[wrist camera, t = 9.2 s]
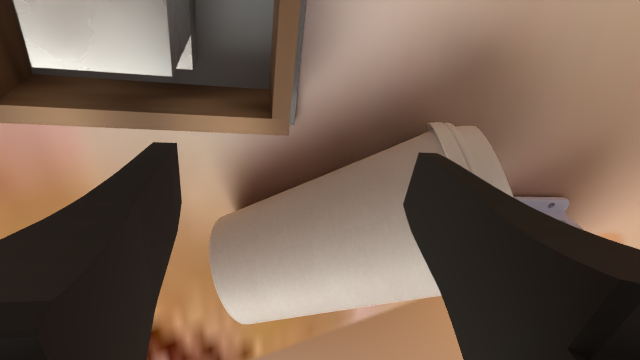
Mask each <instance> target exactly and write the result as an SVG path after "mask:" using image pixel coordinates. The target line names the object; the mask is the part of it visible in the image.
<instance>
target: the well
mask: <svg viewBox="0 0 640 360" xmlns="http://www.w3.org/2000/svg"><path fill="white" fill-rule="evenodd" d="M300 4H301V0H274V9H273V27H272V44H271V61H270V79H269V89H254V88H239V87H224V86H208V85H193V84H178V83H162V82H147V81H132V80H116V79H101V78H86V77H71V76H55V75H40V74H32V71H31V67H30V63H29V60H28V56H27V53H26V49H25V46H24V42H23V38H22V35H21V31H20V28H19V24H18V21H17V17H16V13H15V10H14V6H13V3H12V0H0V123H14V124H37V125H60V126H83V127H106V128H128V129H151V130H174V131H197V132H220V133H243V134H266V135H288V134H289V123H290V112H291V101H292V90H293V80H294V69H295V58H296V47H297V36H298V25H299V15H300Z"/></svg>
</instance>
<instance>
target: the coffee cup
mask: <svg viewBox="0 0 640 360" xmlns="http://www.w3.org/2000/svg"><path fill="white" fill-rule="evenodd" d="M419 152H422V153H438V154H440V155H442V156H444V157H446V158H448V159H450V160H452V161H453V162H455V163H457V164H458V165H460V166H462V167H463V168H465V169H467V170H468V171H470V172H471V173H473V174H475V175H476V176H478V177H480V178H481V179H483V180H484V181H486V182H488V183H489V184H491V185H493V186H494V187H496V188H498V189H499V190H501V191H503V192H505V193H506V194H508V195H510V196H512V197H513V194H512V191H511V188H510V186H509V183H508V180H507V178H506V175H505V173H504V171H503V168H502V166H501V164H500V162H499V160H498V158H497V156H496V154H495V152H494V150H493V148H492V146H491V145H490V143H489V141H488V140H487V138H486V137H485V135H484V134H483V133H482V132H481V131H480V130H479V129H478V128H477V127H476V126H456V127H455V126H454V125H453V124H451V123H448V122H445V123H442V122H432V123H427V132H426V133H424V134H421V135H419V136H417V137H414V138H412V139H410V140H407V141H405V142H402V143H400V144H398V145H395V146H393V147H391V148H388V149H386V150H383V151H381V152H379V153H376V154H374V155H371V156H369V157H367V158H364V159H362V160H359V161H357V162H354V163H352V164H350V165H347V166H345V167H342V168H340V169H337V170H335V171H333V172H330V173H328V174H325V175H323V176H320V177H318V178H316V179H313V180H311V181H308V182H306V183H303V184H301V185H298V186H296V187H294V188H291V189H289V190H286V191H284V192H281V193H279V194H276V195H274V196H272V197H269V198H267V199H264V200H262V201H259V202H257V203H254V204H252V205H249V206H247V207H245V208H242V209H240V210H237V211H235V212H232V213H230V214H227V215H225V216H223V217H221V218H219V219H218V220H217V221H216V223H215V224H214V226H213V229H212V232H211V236H210V244H209V258H210V267H211V273H212V277H213V281H214V284H215V288H216V290H217V293H218V296H219V298H220V300H221V302H222V304H223V306H224V307H225V309H226V310H227V312H228V313H229V314H230V316H231V317H232V318H233V319H235V320H236V321H237V322H239V323H241V324H253V323H260V322H266V321H273V320H280V319H286V318H293V317H300V316H306V315H313V314H319V313H326V312H333V311H339V310H346V309H353V308H359V307H366V306H373V305H380V304H386V303H393V302H400V301H407V300H414V299H421V298H428V297H434V296H442V295H441V293H440V291H439V288H438V286H437V284H436V282H435V280H434V278H433V276H432V274H431V272H430V270H429V268H428V266H427V264H426V262H425V260H424V258H423V256H422V254H421V251H420V249H419V247H418V245H417V243H416V241H415V239H414V237H413V234H412V232H411V230H410V227H409V224H408V221H407V217H406V214H405V210H404V207H403V203H404V199H405V196H406V193H407V189H408V186H409V183H410V180H411V176H412V173H413V170H414V166H415V163H416V160H417V156H418V153H419Z"/></svg>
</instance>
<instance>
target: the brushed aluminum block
mask: <svg viewBox="0 0 640 360" xmlns="http://www.w3.org/2000/svg"><path fill="white" fill-rule="evenodd" d="M13 1H14V4H15V8H16V11H17V15H18V18H19V22H20V26H21V29H22V33H23V36H24V40H25V44H26V47H27V51H28V54H29V58H30V62H31V65H32V67H39V68H54V69H69V70H83V71H98V72H112V73H127V74H142V75H156V76H171V77H172V76H173V74H174V71H175V69H190V70H193V67H194V64H195V61H196V58H197V35H196V13H195V0H13Z"/></svg>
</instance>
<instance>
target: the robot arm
mask: <svg viewBox="0 0 640 360" xmlns="http://www.w3.org/2000/svg"><path fill="white" fill-rule="evenodd" d="M181 203H182V200H181V188H180V176H179V164H178V152H177V143H159V142H153V143H152V144H151V145H149V146H148V147H147V148H146V149H145V150H143V151H142V152H141V153H140V154H139V155H137V156H136V157H135V158H134V159H133V160H131V161H130V162H129V163H128V164H126V165H125V166H124V167H123V168H121V169H120V170H119V171H118V172H116V173H115V174H114V175H113V176H111V177H110V178H108V179H107V180H106V181H104V182H103V183H101V184H100V185H99V186H97V187H96V188H94V189H93V190H91V191H90V192H89V193H87V194H86V195H84V196H83V197H81V198H80V199H78V200H76V201H75V202H73V203H71V204H70V205H68V206H66V207H65V208H63V209H61V210H59V211H58V212H56V213H54V214H52V215H50V216H49V217H47V218H45V219H43V220H41V221H39V222H37V223H34V224H32V225H30V226H28V227H26V228H24V229H22V230H20V231H18V232H16V233H13V234H11V235H9V236H7V237H5V238H3V239H0V360H146V359H147V353H148V346H149V341H150V335H151V329H152V324H153V318H154V313H155V308H156V304H157V300H158V296H159V293H160V289H161V286H162V283H163V279H164V276H165V272H166V269H167V266H168V262H169V259H170V255H171V252H172V249H173V245H174V242H175V238H176V235H177V231H178V224H179V218H180V210H181ZM569 204H570V201H569V200H567V199H566V198H564V197H512V196H510V195H508V194H506V193H505V192H503V191H501V190H499V189H498V188H496V187H494V186H493V185H491V184H489V183H488V182H486V181H484V180H483V179H481V178H480V177H478V176H476V175H475V174H473V173H471V172H470V171H468V170H467V169H465V168H463V167H462V166H460V165H458V164H457V163H455V162H453V161H452V160H450V159H448V158H446V157H444V156H442V155H440V154H438V153H422V152H419V153H418V156H417V160H416V163H415V166H414V170H413V173H412V176H411V180H410V183H409V186H408V189H407V193H406V196H405V199H404V203H403V207H404V210H405V214H406V217H407V221H408V224H409V227H410V230H411V232H412V234H413V237H414V239H415V241H416V243H417V245H418V247H419V249H420V251H421V254H422V256H423V258H424V260H425V262H426V264H427V266H428V268H429V270H430V272H431V274H432V276H433V278H434V280H435V282H436V284H437V286H438V288H439V291H440V293H441V295H442V298H443V300H444V302H445V305H446V308H447V311H448V314H449V317H450V319H451V322H452V325H453V328H454V331H455V334H456V337H457V340H458V343H459V347H460V350H461V353H462V356H463V359H464V360H640V250H639V249H636V248H633V247H630V246H627V245H623V244H620V243H617V242H614V241H611V240H608V239H605V238H603V237H600V236H597V235H595V234H592V233H589V232H587V231H584V230H583V229H582V228H581V227H580V226H579V225H578V224H577V223H576V222H575V221H574V220H573V219H572V218H571V217H570V216H569V215H568V214H567V213H566V212H565V211H566V210H567V208H568V206H569Z"/></svg>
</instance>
